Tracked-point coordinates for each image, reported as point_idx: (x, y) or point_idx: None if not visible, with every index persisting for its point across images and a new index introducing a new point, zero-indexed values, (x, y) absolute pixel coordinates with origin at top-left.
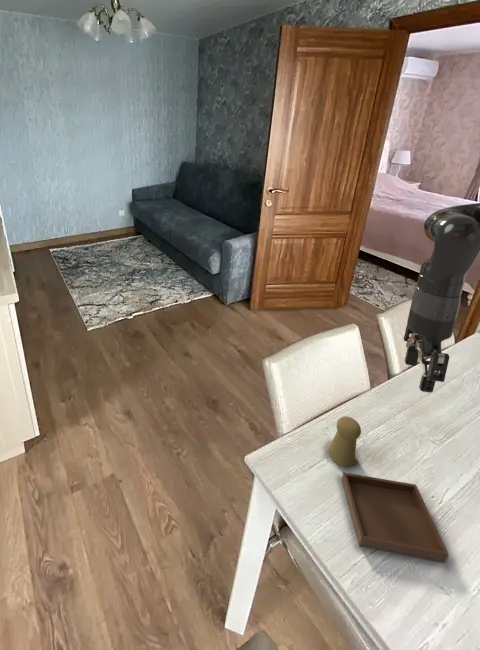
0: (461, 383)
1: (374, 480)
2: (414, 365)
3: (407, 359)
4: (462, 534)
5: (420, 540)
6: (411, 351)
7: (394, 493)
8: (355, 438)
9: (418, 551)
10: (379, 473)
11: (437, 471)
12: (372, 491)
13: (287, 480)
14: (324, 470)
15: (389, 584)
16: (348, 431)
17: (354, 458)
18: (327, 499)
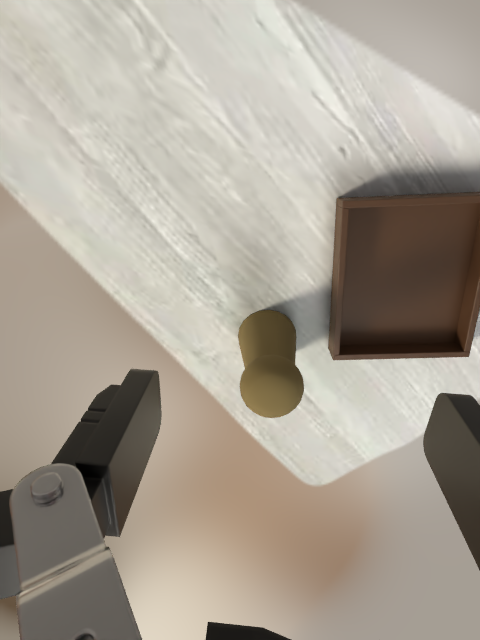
0: None
1: (342, 298)
2: (157, 374)
3: (150, 453)
4: (429, 116)
5: (450, 228)
6: (119, 513)
7: (351, 248)
8: (300, 373)
9: None
10: (299, 263)
11: (265, 100)
12: (352, 296)
13: (344, 440)
14: (312, 376)
15: None
16: (298, 402)
17: (282, 320)
18: (373, 380)
